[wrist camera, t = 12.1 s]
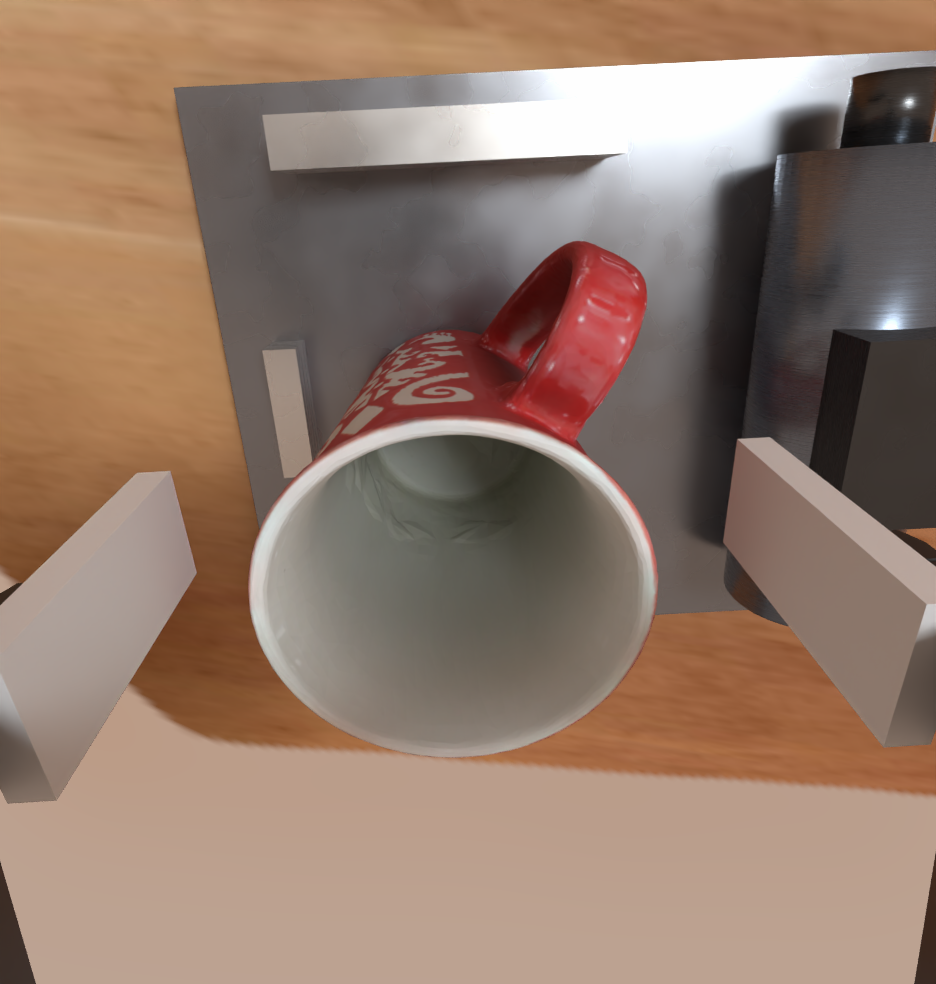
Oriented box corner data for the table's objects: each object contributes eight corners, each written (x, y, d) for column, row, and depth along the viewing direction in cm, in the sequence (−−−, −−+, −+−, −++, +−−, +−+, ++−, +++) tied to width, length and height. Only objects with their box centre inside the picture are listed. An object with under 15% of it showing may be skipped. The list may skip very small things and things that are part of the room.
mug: (488, 554, 29) (518, 811, 17) (301, 459, 27) (183, 673, 15) (661, 303, 25) (865, 402, 13) (455, 167, 23) (466, 133, 11)
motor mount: (284, 622, 32) (231, 759, 24) (184, 92, 23) (49, 36, 15) (823, 593, 32) (944, 719, 24) (931, 55, 23) (1176, -18, 15)
